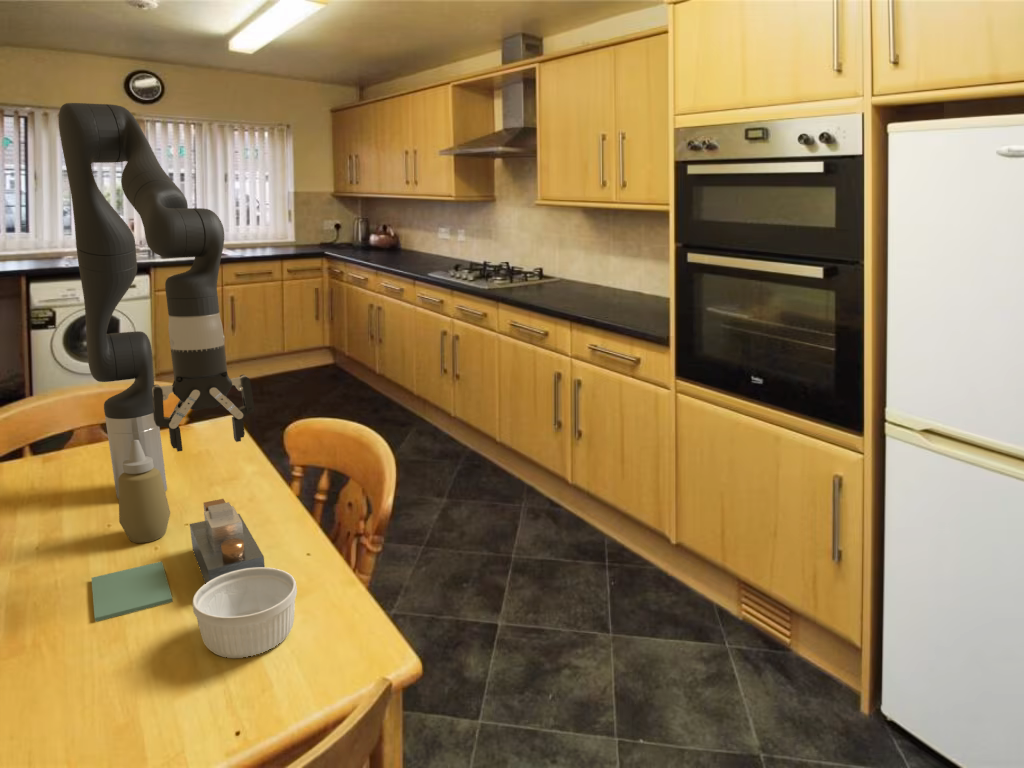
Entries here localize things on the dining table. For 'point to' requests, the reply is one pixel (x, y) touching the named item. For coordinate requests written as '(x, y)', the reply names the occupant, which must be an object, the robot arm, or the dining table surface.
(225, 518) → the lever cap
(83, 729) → the dining table surface
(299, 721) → the dining table surface
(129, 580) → the mat
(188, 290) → the robot arm
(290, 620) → the ramekin
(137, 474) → the squeeze bottle
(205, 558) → the plane body
